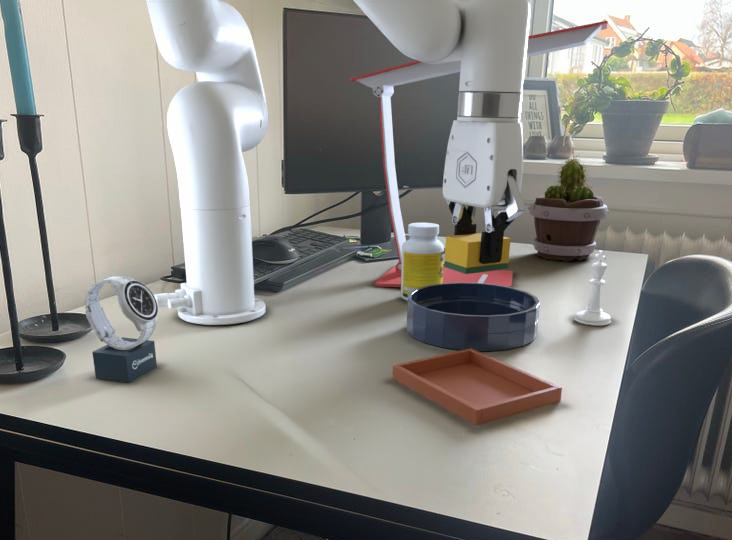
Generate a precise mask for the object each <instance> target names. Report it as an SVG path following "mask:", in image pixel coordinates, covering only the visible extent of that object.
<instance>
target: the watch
mask: <svg viewBox="0 0 732 540" xmlns="http://www.w3.org/2000/svg"><path fill="white" fill-rule="evenodd" d="M106 284H111V289H112V290H113V291H114V293H115V295H116V300H117V306H118V308H119V310H120V311H121V313H122V314H123V316H124V317H125V318H126V319H127V320H129V321H130V322H132V324H133V325H134V327H135V328H136V331H138V332H140V334H139V336H138V338H132V337H124V336H123V337H118V335H117V334H116V329H115V328H114V327H113V325H112V324H111V322H110V321H109V319H108V317H107V315H106V313H105V311H104V307H101V302H100V301H99V299H100V293H101V290H102V289H103V287H104V286H105V285H106ZM84 299H85V300H84V308H85V311H84V313H85V316H86V318H87V321H88V323H89V325H90V327H91V329H92V331H93V332H94V334H95V336H96V337H97V338H98V339H99V341H100V342H103V343H104V344H106V345H104V346H102V347H100V348H98V349H95V350H94V351H92V352H91V353H92V360H93V367H94V375H95V379H99V380H105V381H106V380H107V381H111V382H112V381H113V382H120V383H126V384H129V383H131V382H133V381H135V380H137V379H138V378H139V377H142V376H143V375H145V374H146V373H148V372H150V371H152V370H153V369H155V368H156V367H157V366H158V365H157V353H156V345H155V344H156V343H155V340H150V338H151V336H152V335H153V334H154V331H155V329H156V326H157V323H158V314H159V308H158V304H157V301H156V299H155V297H154V293H153V292H152V290H151V288H149V287H148V286H147V285H146V284H145V283H143V282H141V281H139V280H135V279H134V278H132V277H128V276H125V275H112V276H110V277H107V278H104V279H101V280H98V281H96V282H94V283H93V284H92V285H90V287H89V288H88V290H87V293H86V294H85V298H84Z"/></svg>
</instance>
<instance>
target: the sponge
mask: <svg viewBox="0 0 732 540" xmlns="http://www.w3.org/2000/svg"><path fill="white" fill-rule="evenodd" d="M481 234H482V232H478V233H477V232H476V234H466V235H456V236H454V235H446V236H445V246H444V259H443V264H444V267H446V268H449V269H452V270H455V271H458V272H461V273H464V274H471V273H479V272H487V271H494V270H509V260H510V250H511V240H512V238H511V237H508V236H504V237H503V248H502V258H501V261H500V262H497V263H489V264H482V263H480V248H481Z"/></svg>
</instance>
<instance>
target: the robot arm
mask: <svg viewBox="0 0 732 540" xmlns="http://www.w3.org/2000/svg"><path fill="white" fill-rule="evenodd" d="M352 1H353V2H354V3H355V4H356V5H357V7H358V8H359V9H360V10H361V11H362V12H363V14H365V15H366V16H367V18H368V19H369V20H370V21H371V22H372V23H373V24H374V25H375V27H376V28H377V29H378V30H379V31H380V32H381V33H382V34H383V35H384V36H385V37H386V39H387V40H388V41H389V42H390V43H391V44H392V45H393V46H394V47H395V48H396V49H397V50H398V51H399V52H400V53H402V55H404V56H406V57H408V58H410V59H413V60H415V61H420V62H423V63H427V64H439V63H447V62H453V61H461V69H460V72H459V84H458V100H457V115H456V119H453V122H452V126H451V128H450V133H449V136H448V142H447V147H446V154H445V160H444V169H443V177H442V178H443V179H442V198H443V199H444V202H445V204H447V206H448V209H449V211H450V213H451V215H452V217H451V222H452V224H453V225H454V233H453V236H456V235H466V234H477V223H473V222H474V221H475V218H476V213H477V209H478V208H482V209H483V213H484V226H485V231H481V233H482V234H481V248H480V263H482V264H489V263H497V262H500V261H501V258H502V248H503V237H505V236H504V235H505V232H507V231H508V230H509V227H510V225H511V224H512V223H513V222H514V221H515V219H516V218H518V217H519V216H521V215H522V214H523V213H524V212H525V211H526V206H525V203H524V200H523V198H522V195H521V192H522V191H521V190H522V183H523V182H522V181H523V168H524V137H523V136H524V135H523V123H522V122H521V113H522V102H523V90H524V83H525V73H526V72H525V71H526V64H527V63H526V62H527V58H526V53H527V43H528V36H529V31H530V22H531V4H530V1H529V0H352ZM145 4H146V6H147V11H148V15H149V18H150V22H151V23H150V24H151V26H152V30H153V34H154V39H155V41H156V46H157V49H158V51H159V53H160V54H161V57H162V58H163V60H165V62H166V63H168V64H169V65H170V66H172V67H173V68H175V69H177V70H180V71H184V72H190V73H195V76H196V78H197V79H196V80H197V81H195V82H192V83H188V84H187V85H185V86H183V87H182V88H180V89H179V90H178V91H177V92H176V93H175V95H173V97H172V98H171V101H170V103H169V106H168V110H167V116H166V127H167V134H168V139H169V143H170V147H171V150H172V155H173V159H174V165H175V170H176V178H177V185H178V196H179V206H180V217H181V227H182V229H181V230H182V241H183V242H182V243H183V254H184V265H185V278H186V282H181V283H180V288H178V289H175V291H174V292H162V293H155V294H154V293H153V295H154V297H155V299H156V301H157V304H158V309H159V308H165V307H168V309H170V310H172V309H177V315H178V318H179V319H181V320H183V321H184V322H187V323H191V324H195V325H205V326H225V325H226V326H227V325H237V324H241V323H247V322H250V321H254V320H256V319H259V318H260V317H262V316H264V315H265V314H266V309H267V308H266V303H265V302H264V301H263V300H261V299H259V298H257V297H255V282H254V281H255V280H254V278H255V277H254V260H253V259H254V258H253V256H254V255H253V238H252V237H253V236H252V217H251V202H250V200H251V199H250V184H249V177H248V173H247V168H246V164H245V160H244V155H243V153H245V152H248V151H250V150H252V149H254V148H255V147H257V146H258V145H259V144H260V143H261V142H262V140H263V139H264V138H265V136H266V134H267V131H268V127H269V108H268V103H267V98H266V94H265V93H266V92H265V88H264V85H263V80H262V75H261V71H260V66H259V61H258V57H257V53H256V49H255V44H254V40H253V36H252V33H251V31H250V28H249V26H248V24H247V22H246V21H245V18H244V17H243V15H242V14H241V13H240V12H239V11H238V10H237V9H236V8H235V7H234V6H232V5H231V4H229V3H228V2H225V1H223V0H145ZM495 212H497V215H496V216H495Z"/></svg>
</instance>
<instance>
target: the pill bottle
mask: <svg viewBox="0 0 732 540" xmlns="http://www.w3.org/2000/svg"><path fill="white" fill-rule="evenodd" d="M439 233H440V225H439V224H438V223H434V222H412V223H409V224H408V228H407V234H408V235H409V239H406V242H404V244H403V246H402V273H401V287H400V296H401V298H402V299H403V300H404V301H406V302H408V294H409V293H410V292H411V291H413V290H414V289H417V288H420V287H424V286H428V285H434V284H441V283H442V281H443V264H444V258H445V246H444V244H443V242H441V241H440V240H439V239H438V236H439Z"/></svg>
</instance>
